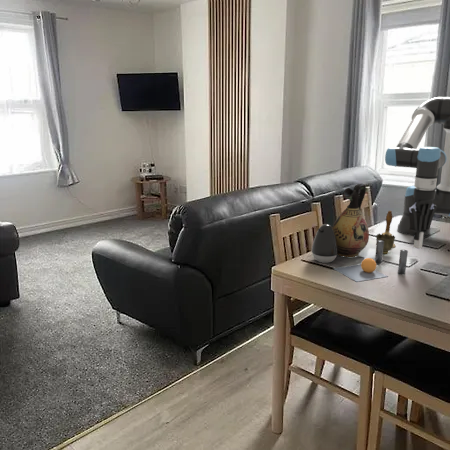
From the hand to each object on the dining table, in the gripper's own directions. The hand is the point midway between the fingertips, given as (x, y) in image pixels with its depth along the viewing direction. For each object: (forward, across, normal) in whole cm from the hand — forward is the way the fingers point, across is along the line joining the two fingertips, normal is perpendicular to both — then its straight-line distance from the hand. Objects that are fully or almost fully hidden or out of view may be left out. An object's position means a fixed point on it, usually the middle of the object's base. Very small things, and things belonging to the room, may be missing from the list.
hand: (417, 247), depth 176 cm
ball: (+4, -24, -1) cm, 25 cm away
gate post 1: (+7, -14, +6) cm, 16 cm away
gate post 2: (+6, -14, -7) cm, 16 cm away
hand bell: (+7, +5, +23) cm, 25 cm away
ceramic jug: (+7, -18, +19) cm, 27 cm away
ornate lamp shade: (+7, -4, +14) cm, 16 cm away
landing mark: (+6, -28, 0) cm, 28 cm away
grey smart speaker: (+7, -33, +16) cm, 37 cm away
